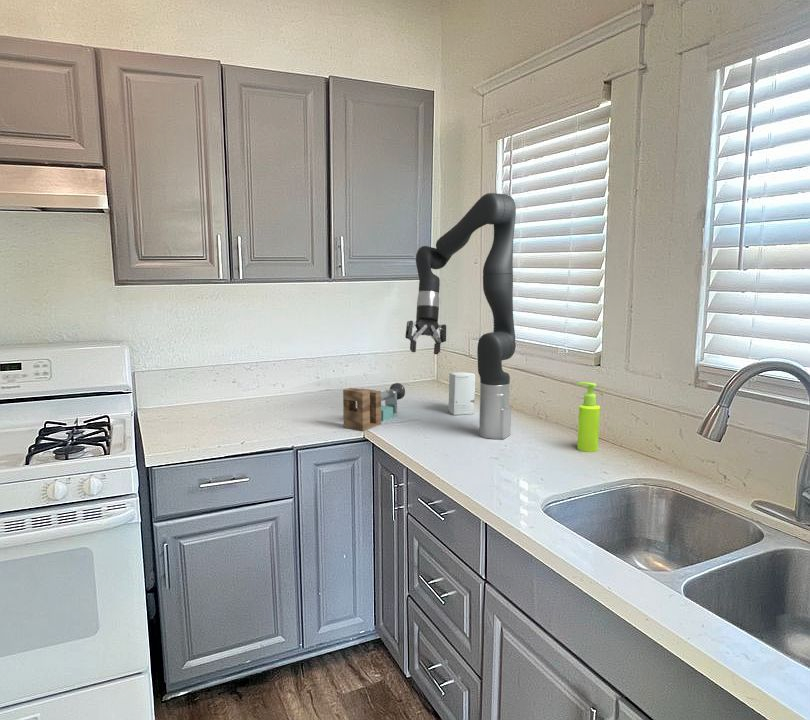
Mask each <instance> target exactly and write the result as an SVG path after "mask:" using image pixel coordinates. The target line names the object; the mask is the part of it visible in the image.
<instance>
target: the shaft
mask: <svg viewBox="0 0 810 720" xmlns="http://www.w3.org/2000/svg"><path fill="white" fill-rule="evenodd" d="M405 395H406V390H405V386H404V385H403V384H402V383H400V382H395V383H392V384H391V385H390V387H389V388H388V389H385V390H383V391H381V402H383V401H384V406H389V407H393V415H396V414H398V401H399V400H401V399H403V398H404V397H405ZM370 405H371V397H370Z"/></svg>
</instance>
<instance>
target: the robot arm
mask: <svg viewBox="0 0 810 720" xmlns="http://www.w3.org/2000/svg"><path fill="white" fill-rule="evenodd" d="M516 207H517V206H516V202H515V200H514V198H513V197H512V196H511V195H508V194H505V193H496V192H488V193H486V194H483V195H482V196H481V197H480V198H479V199H477V201H476V202H475V203H474V204H473V205H472V206H471V208H470V209H469V210H468V211H467V212H466V214H465V215H464V216H463V217H462V218H461V219H460V220H459V221H458V222H457V223H456V224H455V225H454V226H453V227H452V228H451V229H449V230H448V231H447V232H445V233H444V234H443V235H442V236H441V237H439V238H438V239H437V241H436V242H435V247H433V246H428V245H422V246H421V247H419V248H418V249H417V252H416V254H415V265H416V269H417V275H418V281H419V282H418V294H417V299H416V318H415V319H416V320H415V321H413V320H408V321H407V322H406V329H405V336H404V337H405V339H408V340H409V342H410V345H409V350H410V352H411V353H416V352H417V339H418V338H419V337H420V336H428V337H430V338H432V339H433V342H435V343H434V345H433V348H434V349H433V354H434V355H439V354H440V352H441V345H442V343H445V342H447V324H439V322H438V321H439V316H440V315H439V313H440V311H439V310H440V285H441V283H440V282H441V280H440V277H439V276H438V275H436V274H435V273H433V271H432V270H441V269H442V268H444V267H445V266H446V265H447V263H449V261H450V259H452V256H453V255H455V254H456V253H457V252H458V251H460V250H461V249H462V248H464V246H466V244H468V243H469V240H470V238H471V236H472V235H473V233H474V232H476V231H477V230H478V229H480V228H482V227H484V226H486V225H493V238H492V239H493V241H492V245H491V248H490V250H489V252H488V254H487V257H486V259H485V261H484V264H483V269H482V289H483V293H484V294H483V295H484V296H485V299H486V302H487V303H488V305H489V307H490V310H491V313H492V317H493V331H492V332H487V333H484V334H482V335H481V336H480V338H479V339H478V342H477V371H478V372H477V373H478V376H479V378H480V379H479V381H480V383H479V417H478V418H479V419H478V420H479V423H478V424H479V427H478V434H479V436H480V437H482V438H486V439H493V440H504V439H506V438H507V437H509V436H511V433H512V432H511V426H512V406H511V405H510V386H511V385H510V384H511V383H510V382H511V376H510V373H508V372H506V371H504V370H503V366H502V365H503V364H502V363H503V362H502V361H506V360H508V359H509V360H510V359H511V358H513V356H514V354H515V352H516V345H517V343H516V341H517V340H516V333H515V331H516V329H515V321H514V297H513V295H514V293H513V292H514V265H513V264H514V263H513V260H514V234H515V226H516V216H517V215H516V214H517V208H516ZM414 327H415V329H416V330H415V331H414V332H413V328H414ZM437 330H438V331H439V333H438V331H437Z"/></svg>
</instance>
